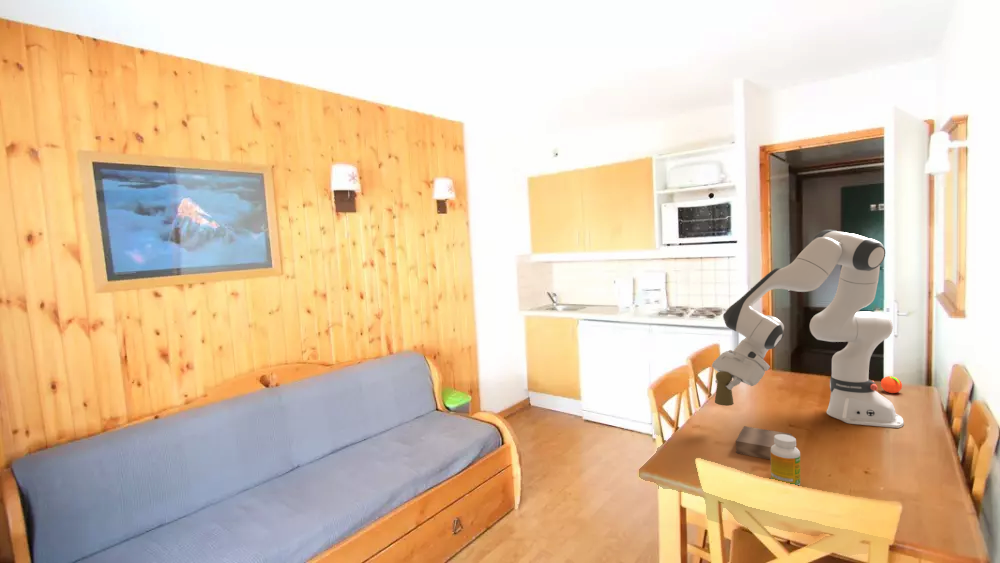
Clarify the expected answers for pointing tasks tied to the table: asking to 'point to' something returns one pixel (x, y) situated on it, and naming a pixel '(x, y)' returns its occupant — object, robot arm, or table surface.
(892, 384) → the clementine
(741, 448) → the walnut plinth
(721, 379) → the olive pawn
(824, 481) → the table surface
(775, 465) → the supplement bottle
